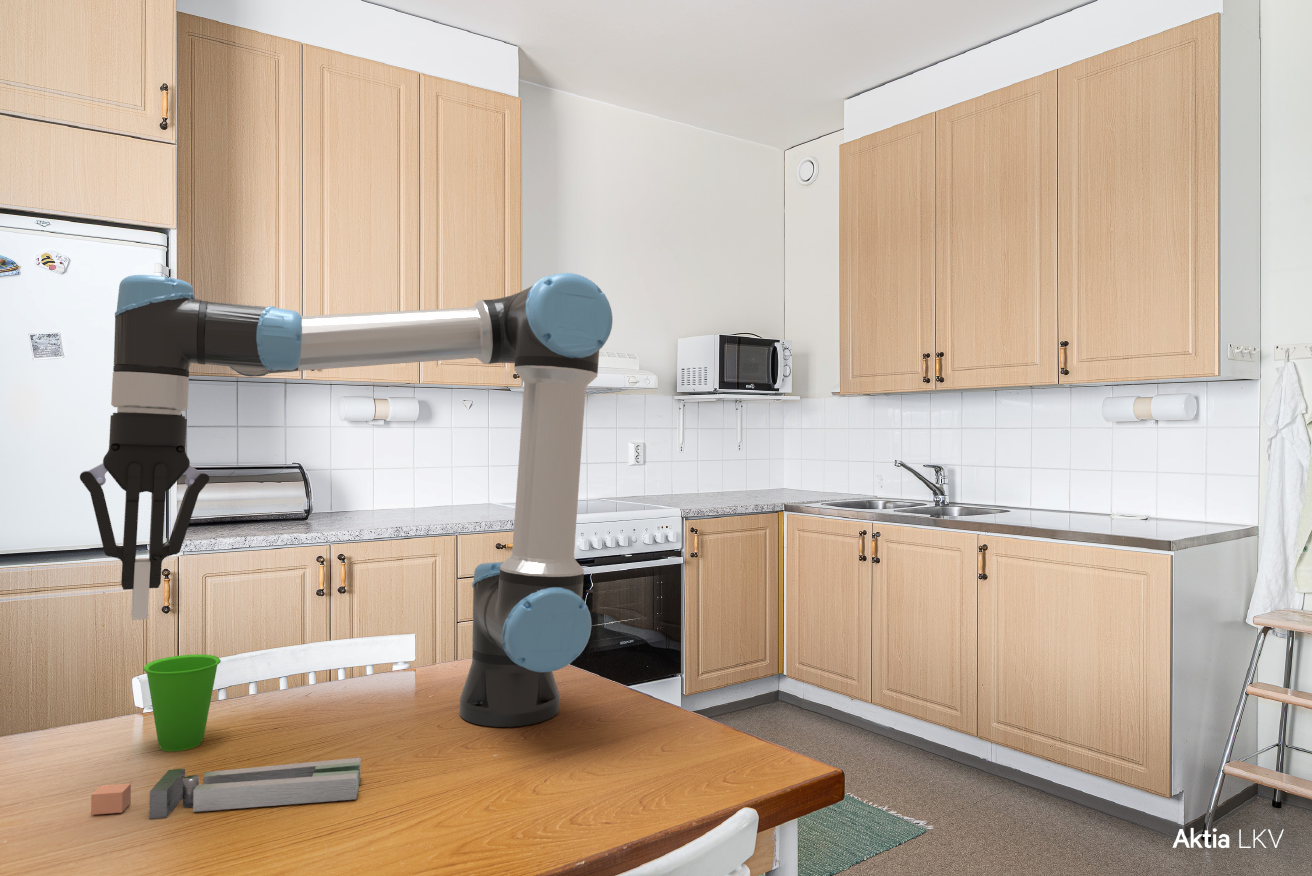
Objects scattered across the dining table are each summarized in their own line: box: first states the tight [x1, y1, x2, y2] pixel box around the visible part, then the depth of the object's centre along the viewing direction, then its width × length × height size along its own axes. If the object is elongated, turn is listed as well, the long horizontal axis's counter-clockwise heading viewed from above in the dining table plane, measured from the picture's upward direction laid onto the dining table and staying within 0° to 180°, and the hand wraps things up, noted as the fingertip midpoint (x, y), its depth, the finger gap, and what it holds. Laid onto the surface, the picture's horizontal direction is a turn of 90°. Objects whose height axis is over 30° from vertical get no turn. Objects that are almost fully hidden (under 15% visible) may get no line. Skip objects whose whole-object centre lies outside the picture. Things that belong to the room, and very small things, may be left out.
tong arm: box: [202, 757, 362, 786], centre depth 98 cm, size 17×2×2 cm, turn 107°
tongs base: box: [148, 768, 360, 820], centre depth 95 cm, size 21×6×3 cm, turn 103°
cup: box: [143, 653, 221, 752], centre depth 111 cm, size 9×9×11 cm
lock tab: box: [90, 783, 132, 816], centre depth 92 cm, size 3×2×2 cm
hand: (139, 617), depth 95 cm, fingers closed
